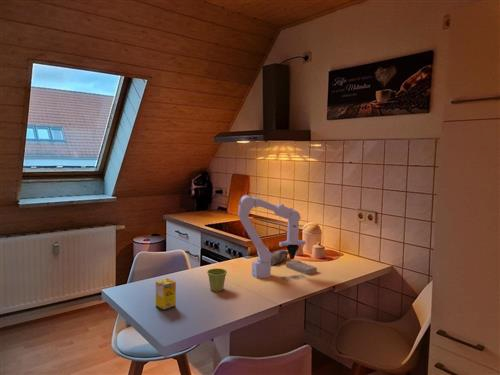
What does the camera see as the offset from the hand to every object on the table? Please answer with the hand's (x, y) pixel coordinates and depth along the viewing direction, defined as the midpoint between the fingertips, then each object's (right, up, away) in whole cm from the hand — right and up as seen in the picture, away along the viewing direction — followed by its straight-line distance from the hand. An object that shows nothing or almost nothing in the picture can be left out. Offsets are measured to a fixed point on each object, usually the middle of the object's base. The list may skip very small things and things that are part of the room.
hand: (291, 258), depth 197 cm
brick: (+6, -10, +11) cm, 16 cm away
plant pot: (-37, -11, -19) cm, 43 cm away
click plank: (+3, -11, -8) cm, 14 cm away
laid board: (+1, -10, -2) cm, 10 cm away
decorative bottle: (-4, -7, +27) cm, 29 cm away
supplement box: (-57, -13, -40) cm, 71 cm away
